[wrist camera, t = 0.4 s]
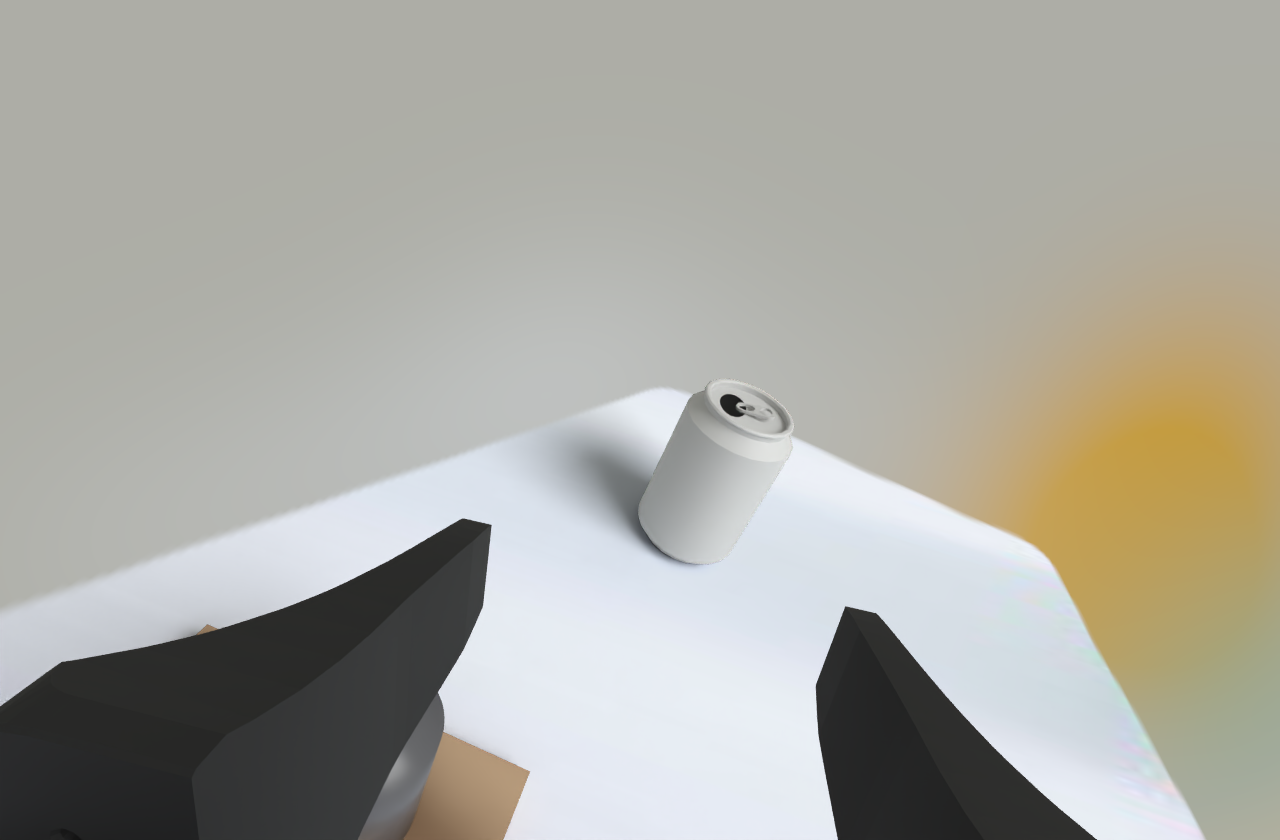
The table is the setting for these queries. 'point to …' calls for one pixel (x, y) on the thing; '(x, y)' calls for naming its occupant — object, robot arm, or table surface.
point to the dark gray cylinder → (406, 779)
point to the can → (715, 471)
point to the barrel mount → (464, 793)
